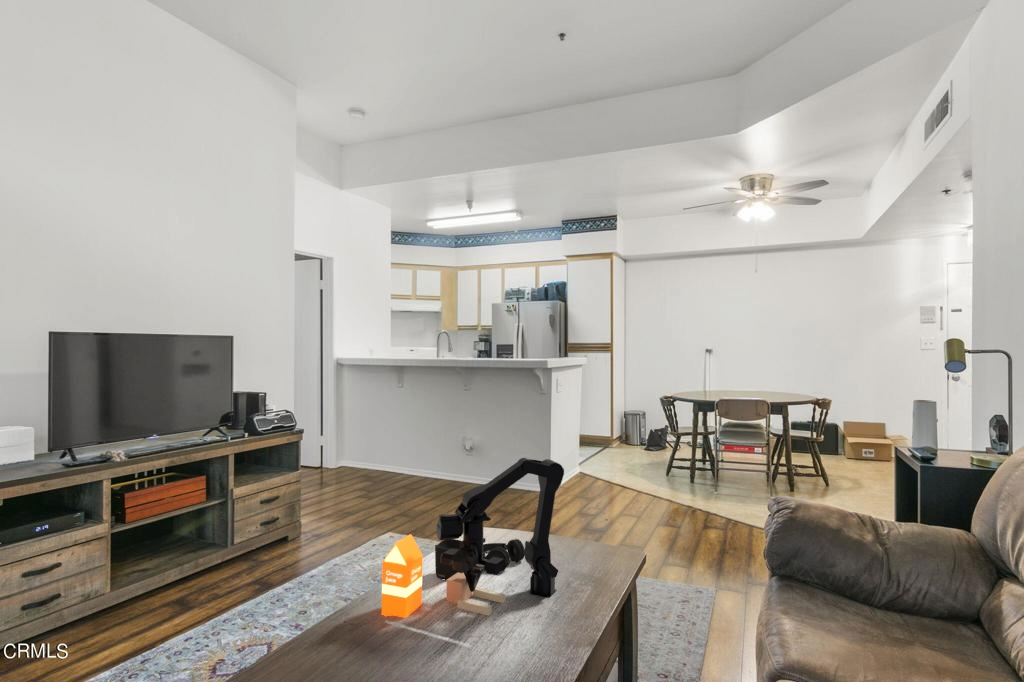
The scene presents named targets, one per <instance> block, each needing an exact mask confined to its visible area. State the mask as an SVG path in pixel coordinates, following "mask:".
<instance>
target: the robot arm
mask: <svg viewBox="0 0 1024 682" xmlns="http://www.w3.org/2000/svg"><path fill="white" fill-rule="evenodd" d="M528 474H530V475H535V476H538V477H537V478H538V479H537V480H538V484H539V495H538V502H537V507H536V509H537V510H536V515H535V523H534V527H533V535H532V537H531V539H530V540H525V543H524V552H523V554H524V555H525V556H524V560H525V562H526V563H527V564H528V565H529V566H530V569H531V570H533V571H532V572H531V576H530V579H529V580H530V583H529V584H530V586H529V587H530V588H529V590H530V592H529V594H530V595H533V596H537V597H541V598H547V599H550V598H551V597H552V596H553V595H554V594H555V593H556V592H557V589H556V587H555V586H556V578H557V576H558V572H559V570H558V568H556V566H555V565H553V563H552V562H551V557H552V556H551V554H552V552H551V548H550V547H551V546H550V541H549V539H550V530H551V524H552V519H553V514H554V513H553V511H554V506H555V505H554V504H555V498H556V493H557V491H559V490H558V489H559V488H560V487H561V485H562V482H563V479H564V475H565V469H564V467H563V466H562V464H560V463H558V462H556V461H554V460H552V459H550V458H547V459H545V458H544V460H538V459H532V458H531V459H530V458H526V457H521V458H519V459H518V461H516V462H515V463H514V464H512V465H511V466H509V467H508V468H506V469H505V470H504V471H502V472H501V473H500V474H498V475H497V476H495V478H492V480H490V481H489V482H487V483H485V484H482V485H478V486H476V487H474V488H471V489H469V490H467V491H466V492H465V493H463V495H462V499H461V502H460V504H459V505H458V507H457V508H456V509H455V511H454V513H452V514H444V513H443V514H439V515H438V519H437V522H436V523H437V524H436V526H435V527H436V536H437V537H436V538H437V541H443V540H448V539H455V540H458V539H459V538H460V537H463V538H462V540H460V541H461V544H460V549H459V550H457V549H452V548H451V549H449V550H447V551H446V552H444V553H442V555H441V564H446V565H450V564H451V563H452V566H453V569H454V570H459V571H462V572H463V574H464V575H465V577H466V580H467V583H468V586H469V589H470V591H471V592H472V593H473V591H474V590H475V588H476V587H477V585H478V582H479V581H480V578H481V577H482V574H483V573H484V572H485V573H486V574H488V575H492V576H498V575H499V574H501V573H502V572H503V571H504V570H506V569H507V568H506V562H505V560H504V559H502V558H497V557H492V558H491V559H489V560H486V559H483V557H485V556H486V552H483V544H485V543H486V538H485V537H484V522H491V519H492V518H491V517H490V516H489V515H488V513H487V512H486V510H487V509H488V508H489V507H491V505H492V503H493V501H494V500H495V499H496V498H497V497H498V496H499V495H500V494H502V493H503V492H505V491H506V490H508V489H509V488H510V487H511V486H513V485H515V483H517V482H518V481H519V480H521V479H522V478H524V477H525V476H526V475H528ZM462 535H463V536H462Z"/></svg>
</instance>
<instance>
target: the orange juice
mask: <svg viewBox="0 0 1024 682" xmlns="http://www.w3.org/2000/svg"><path fill="white" fill-rule="evenodd" d="M423 557H424V556H423V553H422V551H421V550H420V547H419V545H418V544H417V542H416V540H415V538H414V537H413V535H412V533H410V534H408V535H406V536H405V537H403V538H402V539H400V540H398V541H396V542H394V545H393V546H392V547H391V550H390V551H389V553H388V554H387V555H386V557H385V558H384V559H383V561H382V569H381V571H382V574H381V575H382V577H381V579H382V581H381V616H382V615H384V616H383V617H387V616H390V617H391V616H394V617H400V618H404V619H406V618H408V617H409V616H410V615H411V614H412V613H413V612H414V611H416V610H417V609H418V608H419V607H420V606H422V605H423V604H422V601H423V599H422V598H423Z"/></svg>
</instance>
